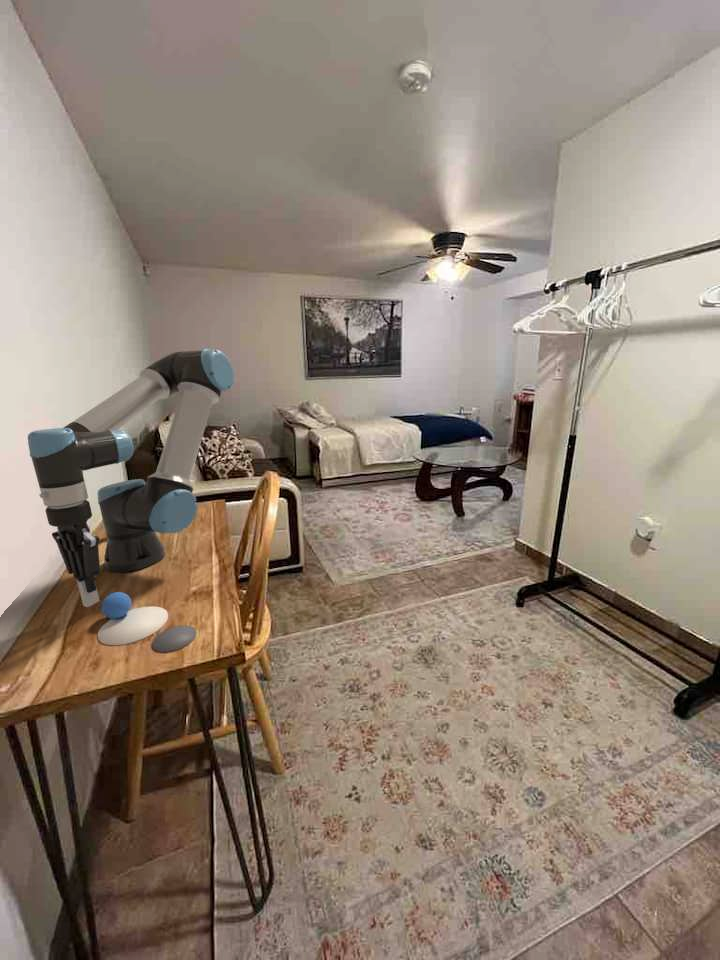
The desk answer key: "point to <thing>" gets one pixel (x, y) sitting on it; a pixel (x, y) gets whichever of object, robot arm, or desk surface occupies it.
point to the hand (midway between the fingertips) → (91, 603)
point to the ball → (116, 605)
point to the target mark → (133, 626)
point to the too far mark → (174, 638)
